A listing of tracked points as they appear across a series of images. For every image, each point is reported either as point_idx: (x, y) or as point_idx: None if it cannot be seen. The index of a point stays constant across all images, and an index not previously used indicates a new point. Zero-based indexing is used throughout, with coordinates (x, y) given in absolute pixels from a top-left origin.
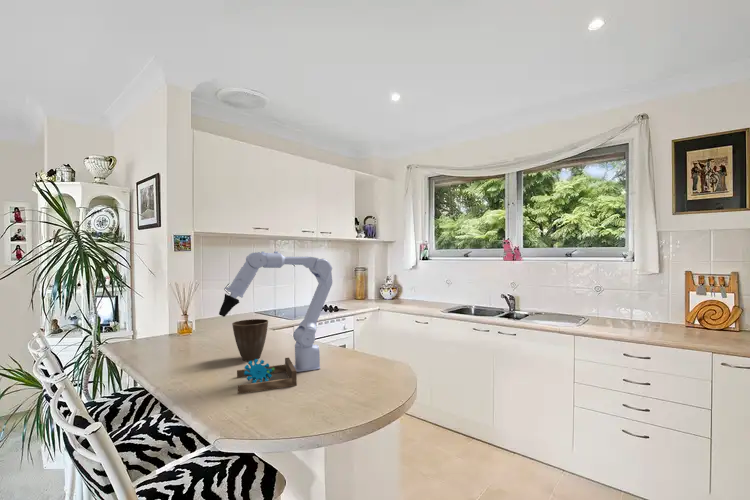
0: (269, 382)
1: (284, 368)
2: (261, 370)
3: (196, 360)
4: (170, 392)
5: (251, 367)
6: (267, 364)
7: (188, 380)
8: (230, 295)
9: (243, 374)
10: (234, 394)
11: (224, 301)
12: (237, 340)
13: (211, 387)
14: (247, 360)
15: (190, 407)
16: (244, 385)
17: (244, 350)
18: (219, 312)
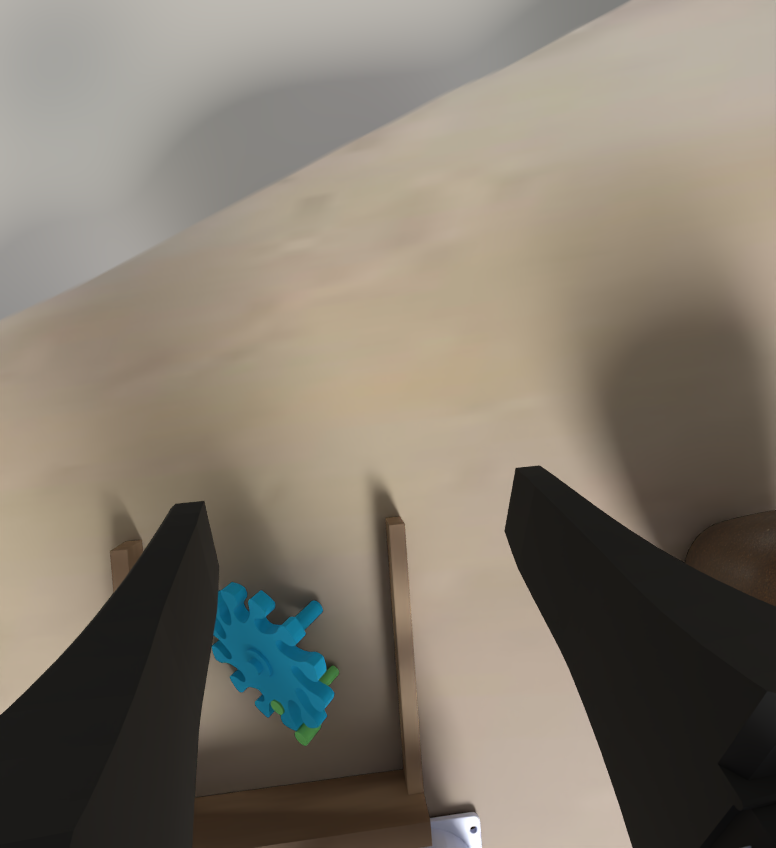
0: None
1: (404, 776)
2: (264, 677)
3: None
4: (268, 214)
5: (266, 630)
6: (310, 720)
7: (433, 271)
8: (752, 817)
9: (389, 554)
10: (126, 526)
11: (17, 713)
12: None
13: (274, 403)
14: (688, 552)
15: (17, 342)
16: (114, 585)
17: (719, 554)
18: (164, 520)
